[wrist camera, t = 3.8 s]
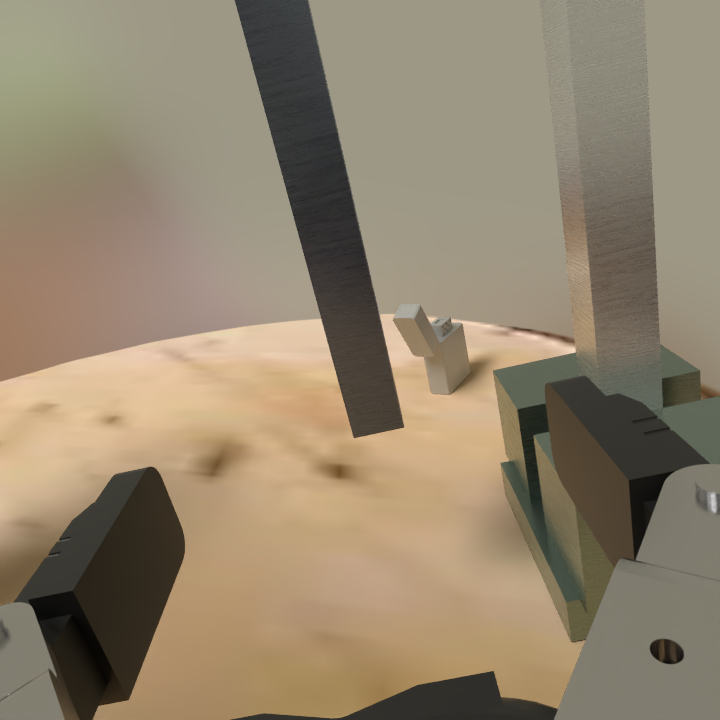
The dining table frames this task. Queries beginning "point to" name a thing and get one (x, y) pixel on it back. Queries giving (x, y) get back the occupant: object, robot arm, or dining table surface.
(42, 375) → the dining table surface
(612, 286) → the grey tall bent post
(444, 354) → the lighter
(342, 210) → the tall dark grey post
